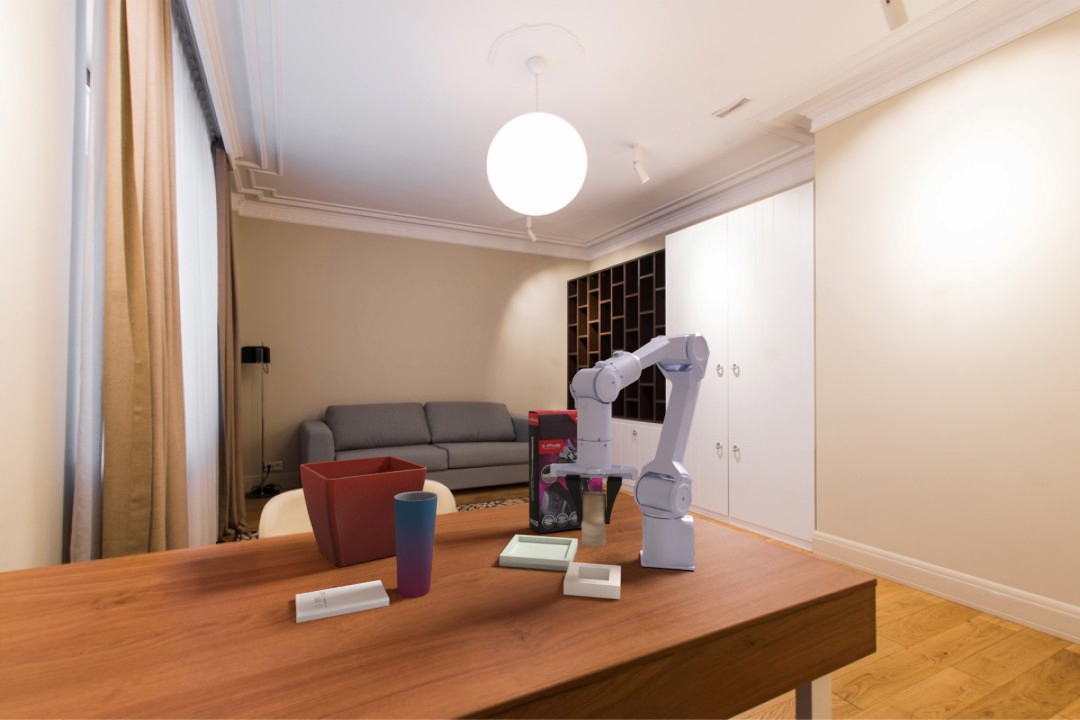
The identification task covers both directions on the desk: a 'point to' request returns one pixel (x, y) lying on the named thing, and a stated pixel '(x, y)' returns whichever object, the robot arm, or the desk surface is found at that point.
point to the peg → (593, 519)
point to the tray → (539, 552)
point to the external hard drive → (340, 600)
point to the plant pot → (357, 505)
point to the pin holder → (593, 580)
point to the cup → (414, 541)
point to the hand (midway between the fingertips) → (593, 521)
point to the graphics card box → (549, 446)
